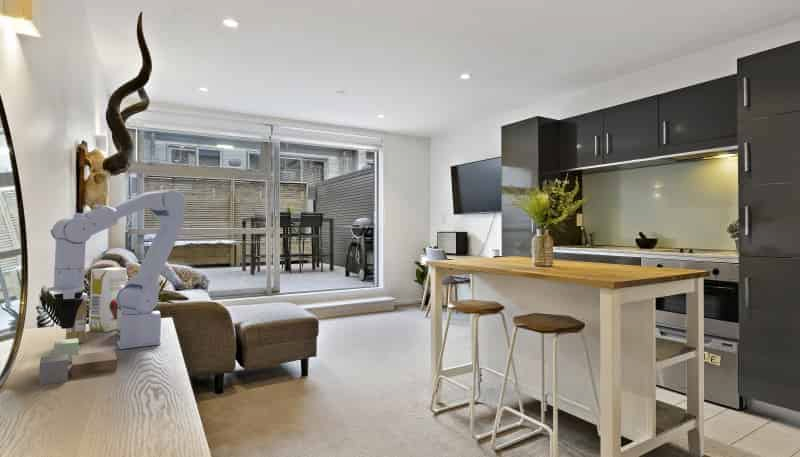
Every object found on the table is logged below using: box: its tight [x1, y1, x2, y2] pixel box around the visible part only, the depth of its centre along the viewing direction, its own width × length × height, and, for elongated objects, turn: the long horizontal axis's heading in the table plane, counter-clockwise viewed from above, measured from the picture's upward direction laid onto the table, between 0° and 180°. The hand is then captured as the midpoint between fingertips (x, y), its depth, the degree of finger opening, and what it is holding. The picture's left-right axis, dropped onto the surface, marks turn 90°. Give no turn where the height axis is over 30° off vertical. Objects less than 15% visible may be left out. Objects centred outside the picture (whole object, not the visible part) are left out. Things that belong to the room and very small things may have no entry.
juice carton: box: [88, 266, 127, 333], centre depth 132 cm, size 8×9×19 cm
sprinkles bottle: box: [65, 292, 89, 344], centre depth 116 cm, size 5×5×13 cm
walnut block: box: [71, 350, 118, 378], centre depth 96 cm, size 8×8×3 cm
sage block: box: [53, 338, 80, 363], centre depth 101 cm, size 4×4×4 cm
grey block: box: [38, 354, 69, 386], centre depth 88 cm, size 4×4×4 cm
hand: (67, 325), depth 101 cm, fingers open, 7 cm apart
